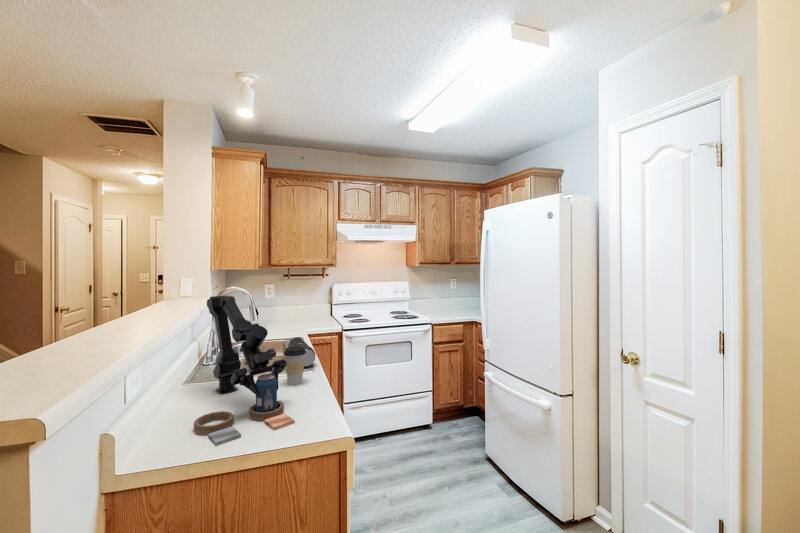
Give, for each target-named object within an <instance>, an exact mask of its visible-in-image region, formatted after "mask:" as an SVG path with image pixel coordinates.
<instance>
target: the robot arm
mask: <svg viewBox="0 0 800 533" xmlns="http://www.w3.org/2000/svg"><path fill="white" fill-rule="evenodd" d="M206 306H207V309H208V312H209V314H210V315H211V316H212V317H213V318H214V322H215V328H216V335H217V342H218V343H217V344H218V347H219V348H218V349H219V354H218V356H217V359H216V365H215V367H214V369H213V371H212V373H213V377H214V378H216V379H218V388H215V390H216V391H217V392H218V393H219V394H221V395H223V394H228V393H232V392H235V391H238V389H239V388H238V387H236V385H239V386H244V387H245V388H247V389H248V390H249V391H250V392H252V393H253V394H255V396H256V395H257V396H259V395H260V394H259V391H258V388H257V386H256V381H255V379H254V376H256V375H262V374H266V373H268V372H269V374H273V375H275V378H276V380H277V391H278V390H279V374H281V373H283V371H284V370H285V369H286V366H287V363H286V361H285V358H281V359H277V360H274V361H273V358H275V357H276V356H277V351H276V349H275V348H274V347H271V348H268V349H267V351H263V350H262V351H261V348H260V347H261V346H262V345H263V343H264V341H265V340H266V338H267V336H268V333H269V332H268V330H267V328H265V327H264V326H263V325H260V324H259V323H252V322H251V321H250V320H248V319H246V318H245V317H244V315H243V314H242V311H241V310H240V308H239V306H238V304H237V302H236V298H235V296H234V295H233V296H232V295H227V294H225V295H217V296H216V295H214V296H213V295H212V296H210V297H209V299H207V300H206ZM229 323H230V324H229ZM230 325H231V326H232V329H231V330H230ZM230 331H231V332H230ZM232 339H233V340H234V341H235V342H236V343H241V342H242V343H241V344H240V347H239V352H240V353H242V354H243V357H244V359H245V362H244V364H245V366H247V367H248V369H247V368H246V367H244V368H241V367H242V362H241V360H240V355H239V353H238V352H236V351H235V350H234V349H233V343H232ZM271 360H272V361H273V362H272V364H270V361H271ZM269 364H270V365H269Z"/></svg>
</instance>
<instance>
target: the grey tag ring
mask: <svg viewBox="0 0 800 533" xmlns="http://www.w3.org/2000/svg"><path fill="white" fill-rule="evenodd" d="M234 416H235V415H234V414H233V412H231V411H220V410H219V411H213V412H212V411H211V412H209V413H206V414H204V415H203V414H202V415H201V416H200V417H198V418H196V419H195V421H194V422H193V432H194V433H195V434H196V435H200V436H208V437H207V438H208V439H209V440H210V441H211V442H212V443H213V444H214V445H215V446H216V447H217V446H220V445H223V444H225V443H228V442H231V441H234V440H236V439H241V438H242V433H241V432H240V431H238V430H237V429H236V428H235V427H234V426H233V425H234V423H235V419H234V418H235V417H234ZM216 421H221V422H220V423H216V424H208V423H211V422H216ZM205 424H208V425H205Z"/></svg>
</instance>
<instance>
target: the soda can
mask: <svg viewBox="0 0 800 533" xmlns="http://www.w3.org/2000/svg"><path fill="white" fill-rule="evenodd" d="M255 384H256V386H257V388H258V391H259V394H260V395H259V396H257V395H255V404H256V410H257V412H260V413H263V412H270V411H273V410H276V407H277V401H278V390H277V380H276V378H275V375H273V374H270V373H262V374H259V376H257V379H256V381H255Z"/></svg>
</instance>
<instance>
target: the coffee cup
mask: <svg viewBox="0 0 800 533" xmlns="http://www.w3.org/2000/svg"><path fill="white" fill-rule="evenodd" d="M305 353H306V350H305V349H304V347H300V346H294V347H289V348H288V347H286V348H285V349H284V351H283V356H284V360H285V361H286V363H287V366H286V367H285V374H286V378H287V379H286V380H287V384H289V385H288V386H298V385H302V383H303V376H304V370H305V366H304V355H305Z"/></svg>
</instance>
